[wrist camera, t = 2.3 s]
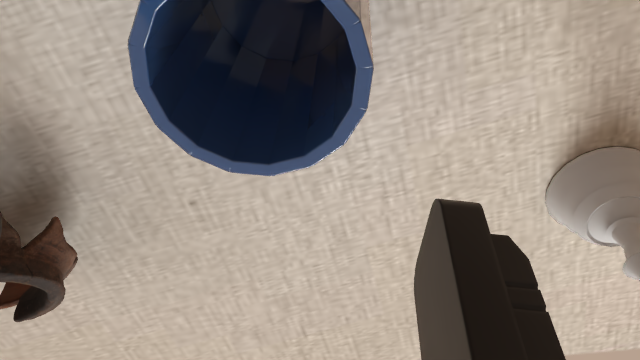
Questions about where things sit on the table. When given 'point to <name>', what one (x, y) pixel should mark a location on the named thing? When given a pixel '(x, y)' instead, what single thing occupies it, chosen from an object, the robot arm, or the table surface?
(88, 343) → the table surface
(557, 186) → the chalice
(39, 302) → the broken pottery
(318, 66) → the cup
